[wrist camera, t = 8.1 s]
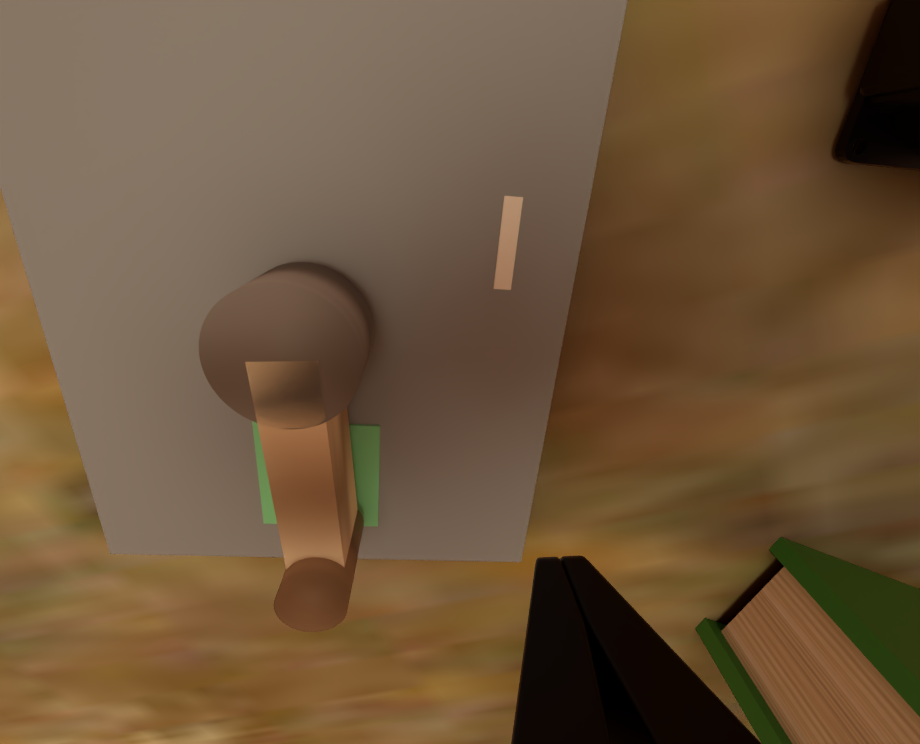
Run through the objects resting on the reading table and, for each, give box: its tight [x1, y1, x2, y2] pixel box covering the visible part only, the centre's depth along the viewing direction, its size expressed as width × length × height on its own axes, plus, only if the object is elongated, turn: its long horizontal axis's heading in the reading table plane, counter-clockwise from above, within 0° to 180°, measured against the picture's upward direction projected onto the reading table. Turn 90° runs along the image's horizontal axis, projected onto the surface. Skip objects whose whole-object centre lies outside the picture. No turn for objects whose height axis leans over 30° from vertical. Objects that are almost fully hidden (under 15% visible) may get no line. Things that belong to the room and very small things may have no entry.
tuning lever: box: [199, 262, 374, 632], centre depth 15 cm, size 12×4×4 cm, turn 179°
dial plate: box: [0, 0, 627, 562], centre depth 16 cm, size 18×22×2 cm
